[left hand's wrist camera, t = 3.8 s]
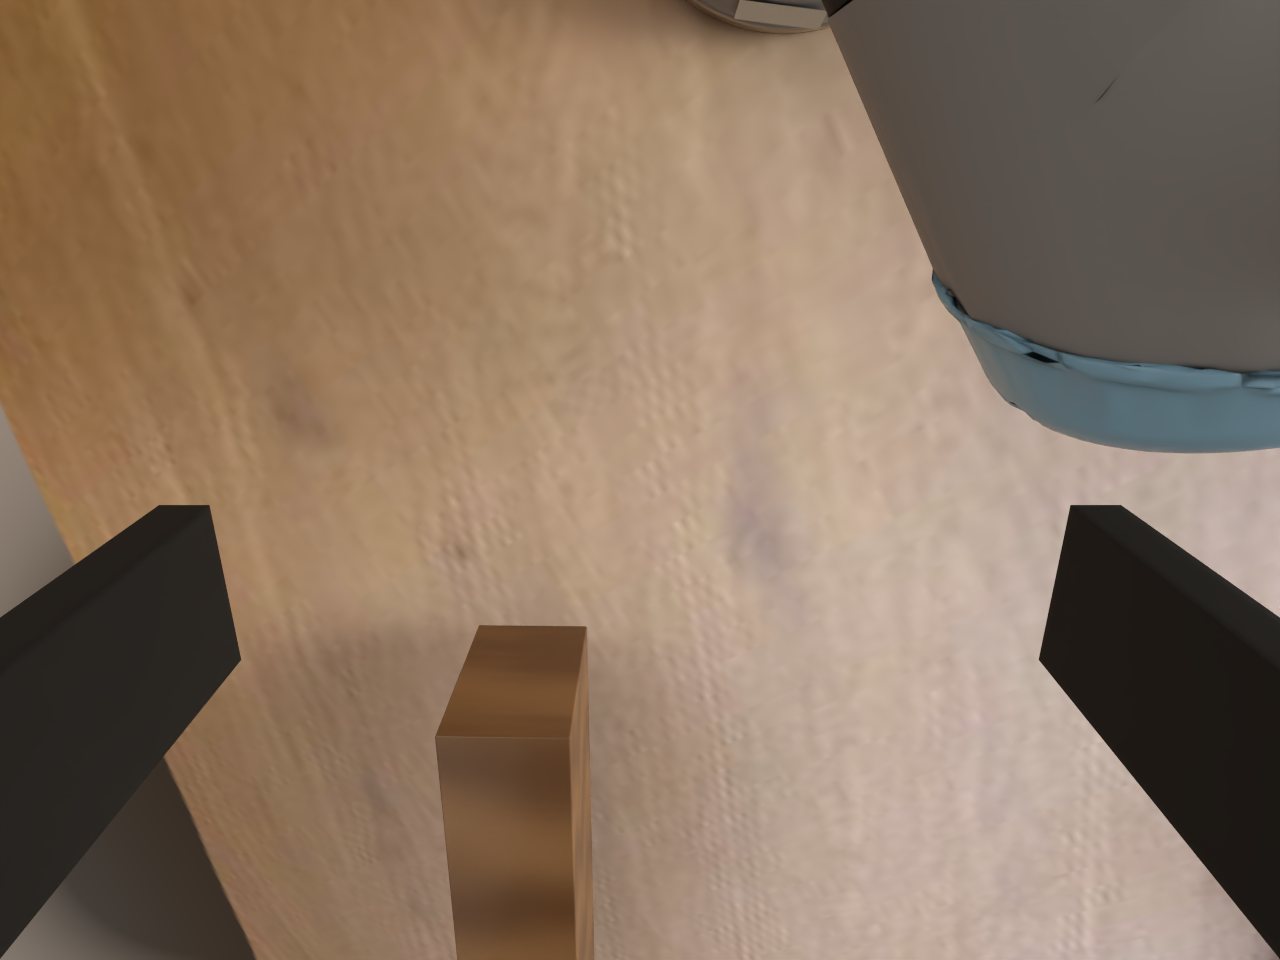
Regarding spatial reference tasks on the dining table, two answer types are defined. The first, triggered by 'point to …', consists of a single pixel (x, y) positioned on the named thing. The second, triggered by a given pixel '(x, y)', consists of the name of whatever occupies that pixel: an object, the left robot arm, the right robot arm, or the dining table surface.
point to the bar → (519, 796)
